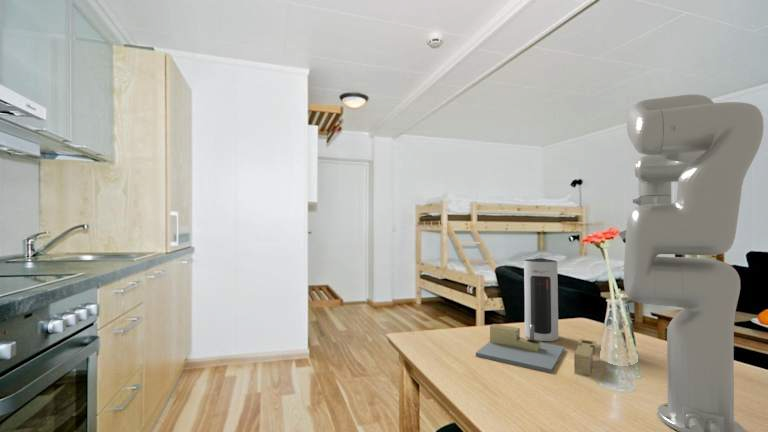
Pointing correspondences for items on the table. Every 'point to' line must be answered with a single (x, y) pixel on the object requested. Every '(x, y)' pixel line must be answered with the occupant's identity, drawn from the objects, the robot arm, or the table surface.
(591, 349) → the beige block
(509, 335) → the fixed leaf
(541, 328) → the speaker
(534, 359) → the grey base plate
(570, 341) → the table surface
